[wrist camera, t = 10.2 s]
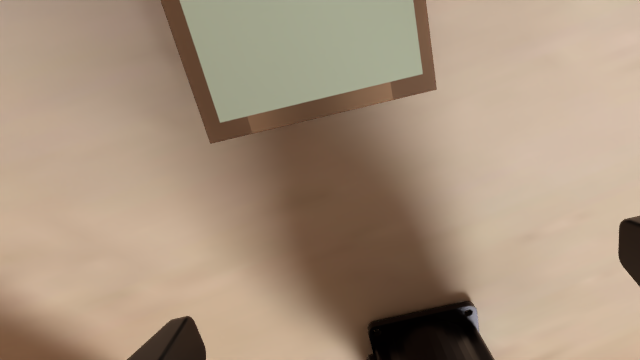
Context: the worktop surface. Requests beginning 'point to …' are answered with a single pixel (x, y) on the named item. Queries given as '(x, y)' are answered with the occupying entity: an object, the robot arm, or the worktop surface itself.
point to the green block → (299, 49)
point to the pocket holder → (302, 110)
